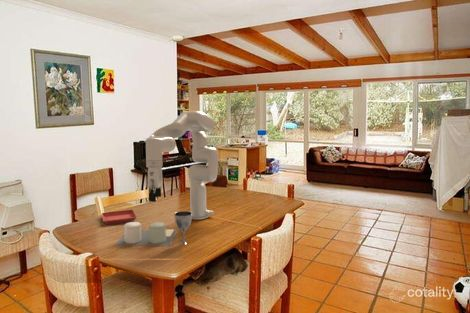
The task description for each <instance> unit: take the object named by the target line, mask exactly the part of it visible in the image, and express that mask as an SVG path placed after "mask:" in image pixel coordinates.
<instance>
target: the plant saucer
mask: <svg viewBox="0 0 470 313" xmlns="http://www.w3.org/2000/svg"><path fill="white" fill-rule="evenodd" d="M101 216H102V222H103V223H104V224H105V225H116V224H124V223H125V224H126V223H129V222H135V220H136V219H137V215H136V213H135V211H134V210H133V209H125V210H117V211H116V210H115V211H109V212H108V211H107V212H106V211H105V212H102V213H101Z"/></svg>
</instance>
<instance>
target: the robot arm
mask: <svg viewBox="0 0 470 313" xmlns="http://www.w3.org/2000/svg"><path fill="white" fill-rule="evenodd" d="M215 126H216V122H215V119H214V118H213V117H212V116H211V115H210V114H207V113H205V112H204V111H200V110H191V111H190V110H186V111H183V112H182V113H180V114H179V115H178V116H177V117H176V119H174V121H172V122H171V123H170V124H167V125H165V126H162V127H159V128H158V129H157V130H155V131H154V132H153V133H151V135H150V136H149V137H148V138H146V139H145V159H146V160H145V161H146V162H145V163H146V164H145V166H146V168H147V187H148V202H150V203H151V202H153V203H155V202H156V201H157V198H160V197H162V187H163V185H164V184H163V183H164V181H163V178H164V177H163V169H162V167H163V164H164V163H163V152H164V153H169V152H172V151H174V150H175V148H176V146H177V142H176V140H175V139H176V138H180V137H182V136H184V135H185V134H186V133H187V132H188V131H189V132H190V134H191V136H192V149H191V150H192V154H191V155H192V156H191V158H192V161H193V162H196V163H201V164H193V165H190V166H189V168H188V170H187V176H188V178H189V180H188V181H189V195H190V198H189V200H190V201H189V202H190V203H189V204H190V206H189V207H190V212H191V213H192V220H194V221H195V220H196V221H198V220H206V219H207V218H209V216H210V215H214V210H212V209H211V210H208V208H207V187H206V184H205V182H207V183H208V182H209V183H214V182H215V181H217V177H218V172H219V171H218V170H219V159H220V158H219V150H218V149H217V148H216V147H212V146H208V136H207V134H206V133H205V132H212V131H213V130H215ZM205 164H206V165H205Z"/></svg>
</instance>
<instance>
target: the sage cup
mask: <svg viewBox="0 0 470 313" xmlns="http://www.w3.org/2000/svg"><path fill="white" fill-rule="evenodd" d="M166 229H167V225H166V223H165V222H163V221H155V222H151V223H150V224H149V226H148V230H149V242H151V243H162V242H165V240H166Z"/></svg>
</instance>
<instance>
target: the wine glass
mask: <svg viewBox="0 0 470 313" xmlns="http://www.w3.org/2000/svg"><path fill="white" fill-rule="evenodd" d="M192 220H193V219H192V213H191V211H189V210H182V211H181V210H180V211H176V212H175V213H174V221H175V226H176V228H178V229H179V230H180V231H181V235H182V241H180V242H179V245H187V244H188V242H187V241H185V235H186V234H185V233H186V231H187V230H188V229H189V228H190V226H191V223H192Z"/></svg>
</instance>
